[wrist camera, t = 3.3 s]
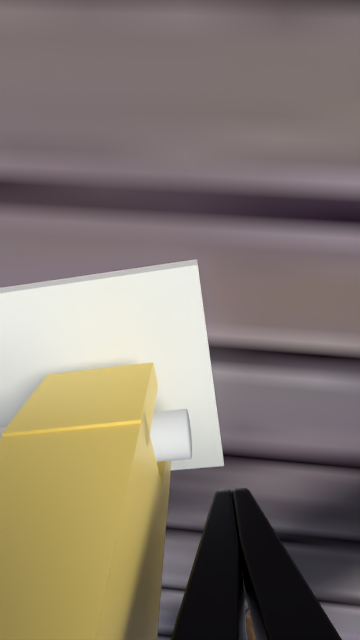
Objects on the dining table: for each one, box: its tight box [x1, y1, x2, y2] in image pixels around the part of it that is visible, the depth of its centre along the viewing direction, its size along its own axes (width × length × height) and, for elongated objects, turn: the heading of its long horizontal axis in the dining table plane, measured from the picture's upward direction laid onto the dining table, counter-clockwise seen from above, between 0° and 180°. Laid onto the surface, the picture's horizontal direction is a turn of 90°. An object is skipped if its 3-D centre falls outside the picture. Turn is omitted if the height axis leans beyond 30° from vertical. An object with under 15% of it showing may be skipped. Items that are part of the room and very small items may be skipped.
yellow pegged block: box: [0, 362, 171, 640], centre depth 9 cm, size 4×4×8 cm
